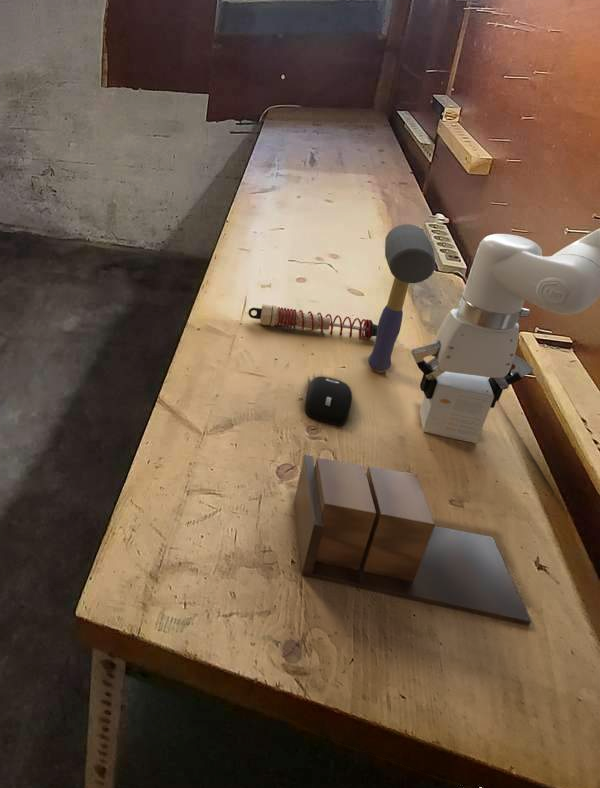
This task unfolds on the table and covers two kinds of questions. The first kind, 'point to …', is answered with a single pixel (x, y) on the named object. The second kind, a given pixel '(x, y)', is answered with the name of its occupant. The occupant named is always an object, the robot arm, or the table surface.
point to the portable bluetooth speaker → (328, 400)
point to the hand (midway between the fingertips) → (456, 397)
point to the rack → (395, 542)
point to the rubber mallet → (400, 286)
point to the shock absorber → (309, 320)
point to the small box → (457, 406)
